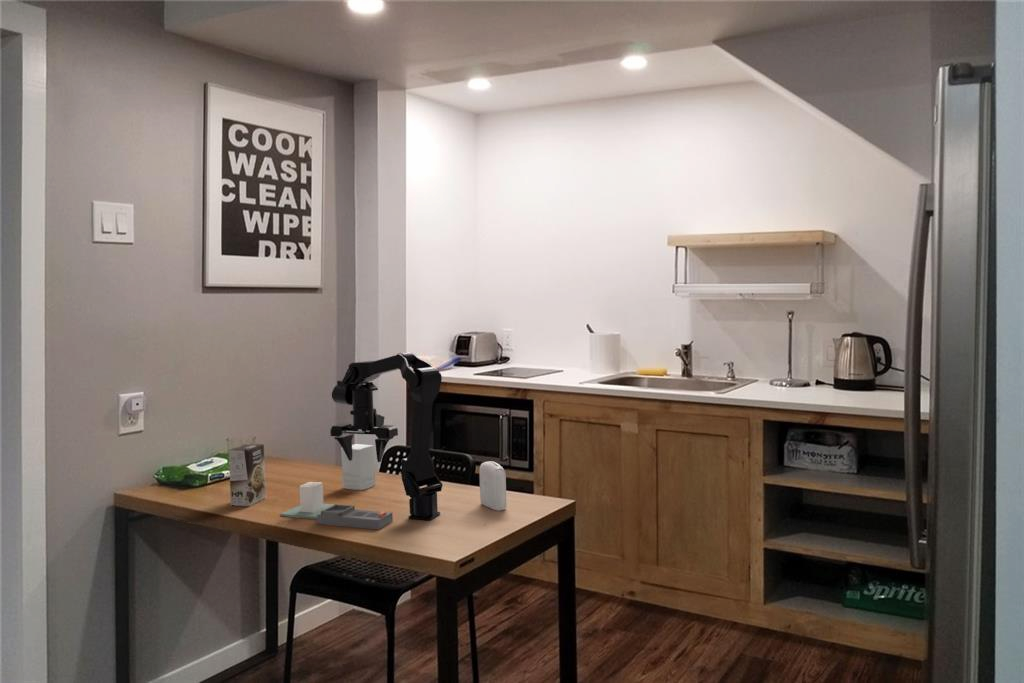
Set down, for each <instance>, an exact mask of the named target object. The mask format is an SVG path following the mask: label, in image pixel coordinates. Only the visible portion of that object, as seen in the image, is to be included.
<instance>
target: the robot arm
mask: <svg viewBox="0 0 1024 683" xmlns="http://www.w3.org/2000/svg"><path fill="white" fill-rule="evenodd" d="M398 370H400V374H401V378H402V379H404V380H405V382H407V384H408V392H409V394H410V396H411V398H412V400H413V407H412V408H413V409H412V410H413V411H412V421H411V422H412V424H411V437H410V438H411V439H410V452H409V455H408V457H405V458H402V459H401V463H400V464H401V468H400V469H401V470H400V474H399V475H401V481H402V484H403V488H404V492H405V496H407V497H409V498H410V499H409V503H408V504H409V515H408V519H413V520H424V521H425V520H426V521H431V520H433V519H435V518H436V517H438V516H439V515H441V511H438V492H442V489H443V482H442V481H441V480H440V479H439V477H438V475H437V474H436V472H435V464H434V461H433V460H432V457H431V455H430V448H431V447H430V445H431V433H432V432H431V431H432V420H433V419H432V418H433V406H434V401H435V399H436V398H437V396H438V395H439V392H440V391H441V390H440V389H441V384H442V379H443V378H442V373H441V372H440V371H439V369H438V368H437V367H435V366H433V365H432V364H431V363H429V362H428V361H426V360H424V359H422V358H421V357H419V356H417V355H416V354H415V353H414V352H410V351H409V352H399V353H397V354H395V355H392V356H389V357H385V358H382V359H381V358H380V359H377V360H366V361H364V360H363V361H356V362H350V363H349V364H348V368H347V370H346V372H345V374H344V376H343V379H340V380H337V381H336V385H335V386H334V387H333V389H332V392H331V399H332V401H333V402H334V403H336V404H339V405H347V406H348V405H349V406H352V410H350V415H351V416H352V423H353V424H352V423H338V424H335V425H332V426H331V427H330V430H329V434H330V437H334V438H333V439H334V440H336V441H337V442H338V443H339V445H340V446H341V448H343V450H344V452H345V454H346V456H347V457H348V459H349V461H351V460H352V445H353V438H354V435H375V437H376V439H374V442H375V445H374V446H375V452H376V459H377V460H376V461H377V463H381V462H382V459H383V456H384V453H385V449H386V447H387V445H388V443H389V442H390V440H392V439H394V437H397V436H399V431H398V427H397V426H396V425H389V424H388V425H387V424H385V418H386V417H385V416H383V415H381V414H377V409H376V408H374V394H373V393H374V391H378V390H379V388H378V387H377V386H376V385H375V384H374V382H373V381H374V380H376V379H378V378H379V377H380V376H381V375H383V374H386V373H391V372H393V371H395V372H396V371H398Z"/></svg>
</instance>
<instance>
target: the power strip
mask: <svg viewBox="0 0 1024 683" xmlns="http://www.w3.org/2000/svg"><path fill="white" fill-rule="evenodd" d="M332 505H333V506H331V507H329V508H326V509H324V510H322V511H321V513H320V514H318V515H317V519H316V520H317V522H316V524H317V525H323V526H325V525H326V526H335V527H336V526H337V527H346V528H348V527H350V528H357V529H358V528H360V529H369V530H381V529H383V528H384V527H386V526H387V525H389V524H391V523H393V520H394V519H393V518H394V517H393V515H394V514H393V512H392V511H391V512H390V511H383V510H382V511H379V510H367V509H366V510H365V509H355V505H350V504H348V505H347V504H338V503H337V504H336V503H335V504H332Z"/></svg>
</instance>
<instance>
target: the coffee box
mask: <svg viewBox="0 0 1024 683" xmlns="http://www.w3.org/2000/svg"><path fill="white" fill-rule="evenodd" d="M228 457H229V458H228V459H229V460H228V461H229V487H230V506H232V505H234V507H235V506H236V507H238V506H239V507H252V506H253V505H256V504H257V503H260V502H261V500H262V501H264V500H266V499H267V493H266V492H267V490H266V467H265V466H266V465H265V444H260V443H259V444H258V443H257V444H256V443H254V444H251V443H250V444H243V445H239V446H236V447H234V448H230V449H229V450H228ZM263 499H264V500H263ZM259 501H260V502H259Z"/></svg>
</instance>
